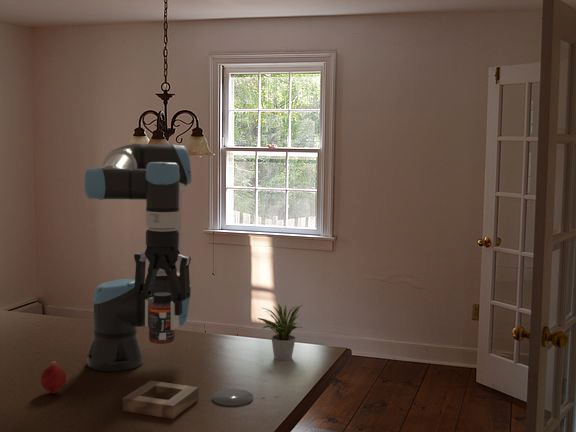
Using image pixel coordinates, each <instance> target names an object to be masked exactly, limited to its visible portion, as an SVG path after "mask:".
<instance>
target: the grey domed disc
mask: <svg viewBox="0 0 576 432" xmlns="http://www.w3.org/2000/svg"><path fill="white" fill-rule="evenodd" d="M253 400H254V395H253V392H252V393H251V392H250V391H248V390H244V389H239V388H227V389H220V390H217V391H216V392H214V393H213V394H212V396H211V401H212V402H213V403H215V404H217V405H220V406H225V407H239V406H244V405H248V404H249V403H252V402H253Z"/></svg>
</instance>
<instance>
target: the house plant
mask: <svg viewBox="0 0 576 432" xmlns="http://www.w3.org/2000/svg"><path fill="white" fill-rule="evenodd" d="M276 305H277V306H278V309H277V308H276V307H275V306H272V307H273V308H274V310H275V311H276V312H277V315H278V316H279V317H277V315H276V314H275V313H274V312H273V311H272V310H270V309H268V308H264V307H262V309H264V310H267V311H266V313H267V314H269V316H270V317H271V318H272V319H274V322H273V321H272V320H268V319H265V318H260V317H257V320H259V321H261V322H262V323H263V324H266V325H264V326H263V327H262V328H261V329H260V330H262V329H266V328H270V329H271V330H272V331H273V332H274V333H275V334H273V335H272V336H271V344H272V352H273V359H275V360H276V361H280V362H281V361H285V362H286V361H290V360H292V358H293V353H294V347H295V343H296V336H294V335H292V332H293V331H294V330H295V329H297V328H302V329H303V326H296V325H297V324H298V325H299V323H298V322H295V320H296V319H297V318H298V317H299V315H297V314H298V312H299V311H300V308H301V307H303V306H304V305H303V304H301V305H299V306H297V305H296V306H294V307H291V309H290V310H289V311H287V305H286V304H285V305H284V308H283V309H282V306H281V305H280V304H279V303H277V304H276ZM293 309H294V310H293ZM287 312H288V314H287ZM291 312H292V313H291ZM288 319H289V320H288Z"/></svg>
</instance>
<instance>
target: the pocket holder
mask: <svg viewBox="0 0 576 432" xmlns="http://www.w3.org/2000/svg"><path fill="white" fill-rule="evenodd" d="M198 400H199V386H193V385H192V386H191V385H184V384H178V383H170V382H164V381H156V380H149V381H148V382H146V383H145V384H143V385H141V386H139V387H137V389H135V390H133V391H132V392H130V393H129V394H127V395H126V396H124V397H122V411H123V412H127V413H128V412H129V413H134V414H141V415H146V416H147V415H148V416H154V417H159V418H165V419H171V420H174V419H175V418H176V417H178V416H179V415H180V414H181V413H182V412H184V411H185V410H187V409H188V408H189V407H190V406H192V405H193V404H195V402H197V401H198Z"/></svg>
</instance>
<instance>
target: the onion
mask: <svg viewBox="0 0 576 432" xmlns="http://www.w3.org/2000/svg"><path fill="white" fill-rule="evenodd" d="M66 382H67V375H66V372H65V370H64V369H63V368H62V367H60V366H58V363H57V361H52V362H51V363H50V365H48V366H47V367H46V368H45V369H44V370H43V372H42V373H41V376H40V385H41V386H42V388H43V389H44V390H45V391H47V392H48V393H51V394H57V392H59V391H60V390H61V389H62V388H63V387H64V386H65V384H66Z"/></svg>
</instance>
